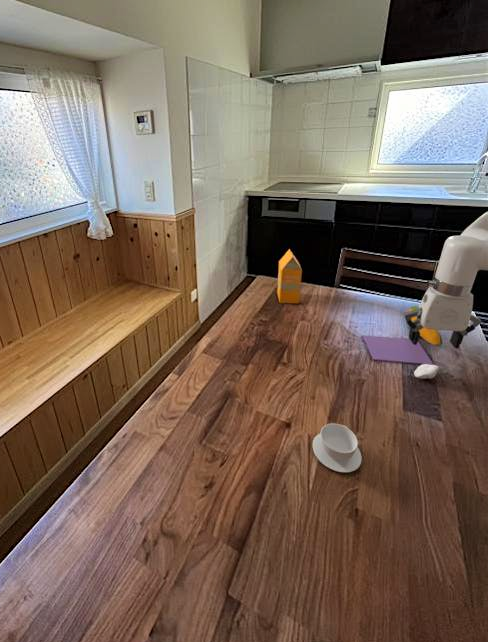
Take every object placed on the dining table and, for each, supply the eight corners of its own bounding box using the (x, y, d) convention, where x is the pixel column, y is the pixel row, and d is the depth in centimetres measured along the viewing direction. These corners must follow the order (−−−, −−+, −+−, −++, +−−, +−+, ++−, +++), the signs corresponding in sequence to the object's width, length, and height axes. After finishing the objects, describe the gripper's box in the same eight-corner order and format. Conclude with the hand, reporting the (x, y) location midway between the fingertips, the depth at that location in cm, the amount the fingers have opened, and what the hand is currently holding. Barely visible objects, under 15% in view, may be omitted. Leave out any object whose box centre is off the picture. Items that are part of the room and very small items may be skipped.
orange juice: (295, 292, 141) (299, 248, 133) (299, 303, 133) (303, 256, 125) (276, 292, 142) (279, 248, 134) (279, 303, 134) (282, 256, 126)
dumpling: (431, 387, 90) (430, 376, 89) (410, 379, 94) (409, 368, 93) (443, 372, 93) (442, 361, 92) (422, 365, 97) (421, 354, 96)
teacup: (352, 483, 68) (356, 468, 66) (305, 455, 74) (306, 440, 72) (367, 448, 75) (370, 433, 73) (322, 425, 81) (324, 411, 79)
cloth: (417, 340, 108) (417, 339, 108) (433, 365, 97) (433, 364, 97) (363, 336, 111) (363, 335, 111) (372, 360, 101) (373, 358, 101)
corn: (428, 300, 116) (456, 333, 98) (424, 319, 119) (451, 354, 101) (403, 300, 117) (427, 332, 100) (401, 318, 120) (423, 353, 103)
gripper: (418, 291, 81) (402, 348, 88) (502, 296, 77) (478, 356, 84) (406, 277, 87) (392, 332, 94) (483, 281, 84) (463, 338, 91)
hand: (433, 343), depth 89 cm, fingers open, 9 cm apart
